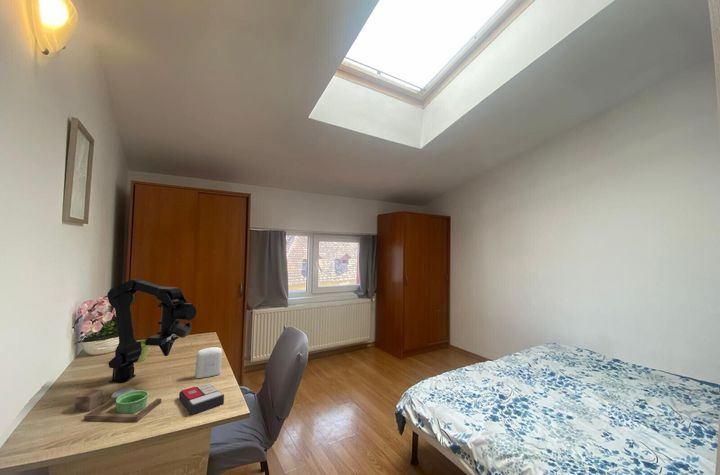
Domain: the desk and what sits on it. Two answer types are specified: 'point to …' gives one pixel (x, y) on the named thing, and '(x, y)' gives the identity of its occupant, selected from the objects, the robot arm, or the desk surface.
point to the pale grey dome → (122, 392)
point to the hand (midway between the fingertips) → (166, 355)
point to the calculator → (201, 398)
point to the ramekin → (131, 402)
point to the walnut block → (89, 400)
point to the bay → (99, 416)
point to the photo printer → (208, 362)
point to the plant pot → (143, 352)
